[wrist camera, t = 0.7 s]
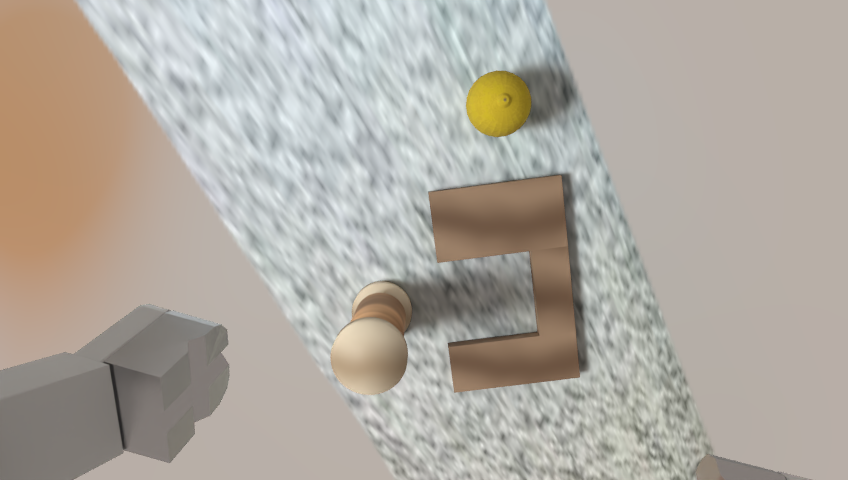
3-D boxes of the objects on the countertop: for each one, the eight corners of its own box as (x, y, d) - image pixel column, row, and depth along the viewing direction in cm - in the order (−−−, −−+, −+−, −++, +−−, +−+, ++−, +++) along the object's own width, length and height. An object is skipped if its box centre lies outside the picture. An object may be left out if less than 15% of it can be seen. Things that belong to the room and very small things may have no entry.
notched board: (428, 191, 53) (428, 192, 52) (558, 174, 53) (561, 175, 51) (453, 387, 56) (454, 392, 55) (576, 372, 56) (580, 377, 54)
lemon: (524, 134, 52) (542, 131, 44) (466, 140, 52) (473, 138, 44) (520, 74, 51) (536, 59, 43) (460, 80, 51) (466, 67, 43)
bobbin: (349, 285, 54) (325, 326, 41) (407, 277, 54) (401, 317, 41) (358, 340, 55) (337, 399, 42) (415, 333, 55) (412, 389, 42)
